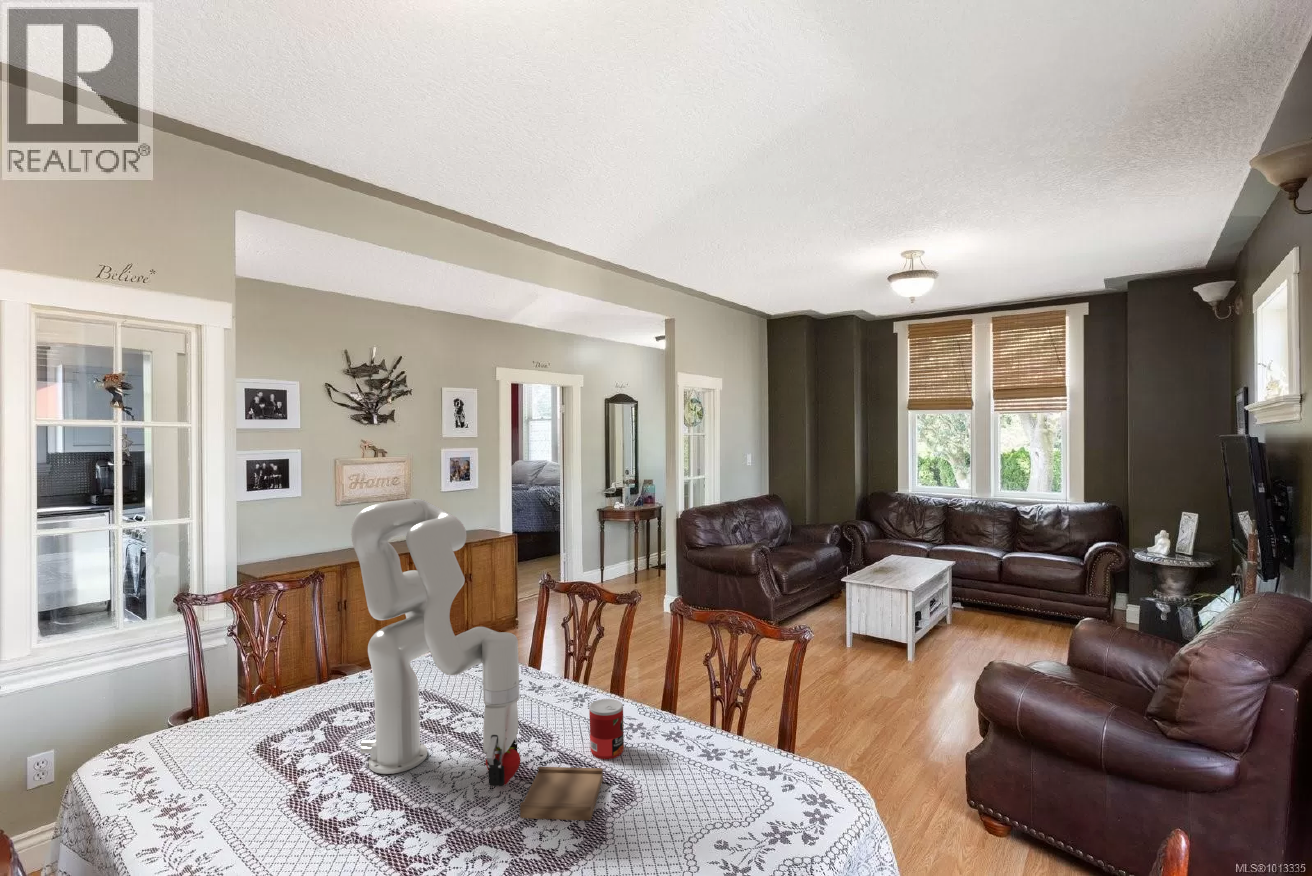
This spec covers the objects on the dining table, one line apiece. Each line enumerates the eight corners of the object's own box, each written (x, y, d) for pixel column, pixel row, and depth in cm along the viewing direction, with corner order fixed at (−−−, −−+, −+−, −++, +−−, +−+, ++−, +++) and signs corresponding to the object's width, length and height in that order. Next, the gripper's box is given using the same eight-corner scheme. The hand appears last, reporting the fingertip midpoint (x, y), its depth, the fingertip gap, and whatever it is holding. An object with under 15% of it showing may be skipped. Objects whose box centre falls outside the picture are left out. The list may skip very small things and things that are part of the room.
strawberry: (516, 794, 133) (515, 746, 132) (481, 792, 133) (480, 745, 133) (525, 778, 139) (523, 733, 138) (491, 777, 139) (490, 732, 139)
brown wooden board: (520, 818, 124) (520, 805, 124) (539, 778, 138) (539, 766, 138) (590, 820, 123) (590, 807, 123) (602, 780, 137) (602, 768, 137)
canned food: (619, 761, 145) (618, 714, 144) (585, 758, 146) (584, 711, 146) (627, 745, 152) (626, 699, 152) (595, 742, 154) (594, 697, 154)
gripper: (497, 676, 145) (500, 752, 145) (469, 710, 127) (471, 796, 128) (530, 676, 144) (532, 753, 144) (505, 711, 127) (508, 797, 127)
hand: (503, 773), depth 136 cm, fingers open, 8 cm apart
